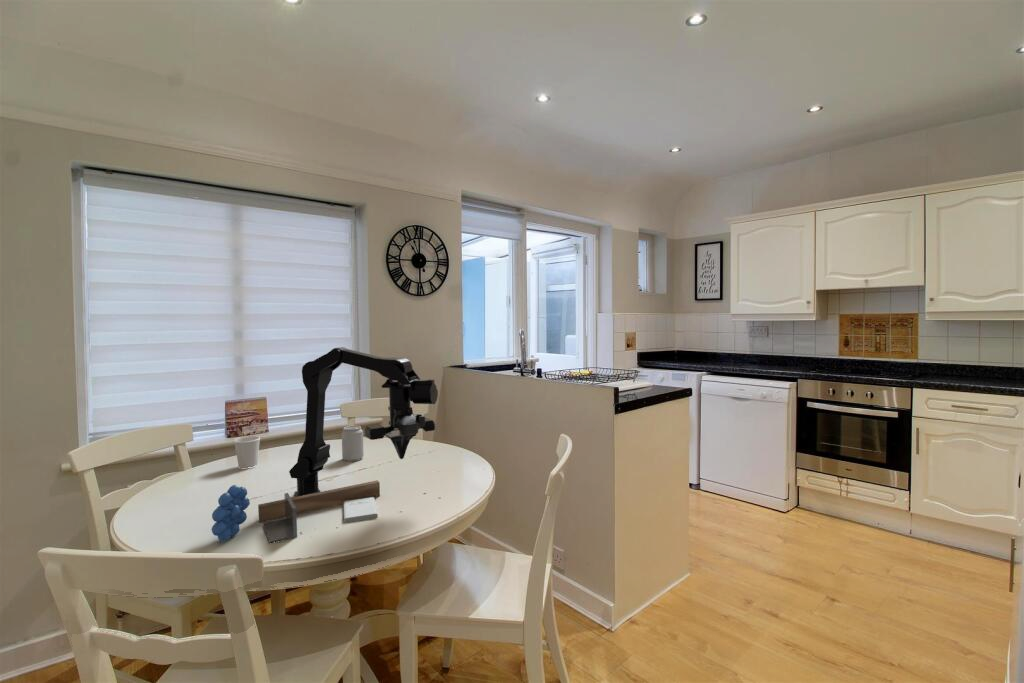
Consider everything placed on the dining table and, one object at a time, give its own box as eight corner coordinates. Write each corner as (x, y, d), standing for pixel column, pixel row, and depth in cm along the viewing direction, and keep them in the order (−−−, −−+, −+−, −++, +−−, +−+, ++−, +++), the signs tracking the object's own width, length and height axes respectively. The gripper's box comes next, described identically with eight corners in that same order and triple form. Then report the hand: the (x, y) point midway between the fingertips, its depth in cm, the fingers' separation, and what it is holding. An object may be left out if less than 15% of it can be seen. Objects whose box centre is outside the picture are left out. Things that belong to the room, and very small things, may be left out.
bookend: (263, 525, 118) (262, 497, 118) (288, 519, 121) (287, 492, 121) (269, 543, 108) (268, 513, 108) (297, 537, 111) (296, 507, 111)
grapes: (232, 525, 118) (230, 478, 118) (257, 526, 117) (255, 478, 117) (196, 547, 106) (194, 495, 106) (224, 548, 106) (222, 496, 105)
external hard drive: (344, 524, 119) (343, 506, 131) (377, 519, 122) (374, 502, 133) (344, 518, 119) (343, 500, 130) (377, 513, 122) (374, 496, 133)
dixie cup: (263, 462, 172) (262, 435, 172) (259, 468, 164) (258, 440, 164) (237, 464, 169) (235, 437, 169) (232, 471, 161) (231, 442, 161)
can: (338, 460, 173) (337, 427, 173) (355, 455, 180) (354, 423, 179) (350, 463, 169) (349, 430, 169) (368, 458, 175) (367, 426, 175)
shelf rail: (258, 519, 121) (258, 504, 121) (377, 493, 139) (377, 480, 138) (259, 522, 120) (259, 507, 119) (379, 495, 137) (379, 482, 137)
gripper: (376, 411, 120) (377, 472, 120) (442, 403, 130) (444, 459, 131) (363, 405, 129) (364, 462, 130) (426, 398, 139) (427, 450, 140)
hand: (401, 458), depth 132 cm, fingers closed
